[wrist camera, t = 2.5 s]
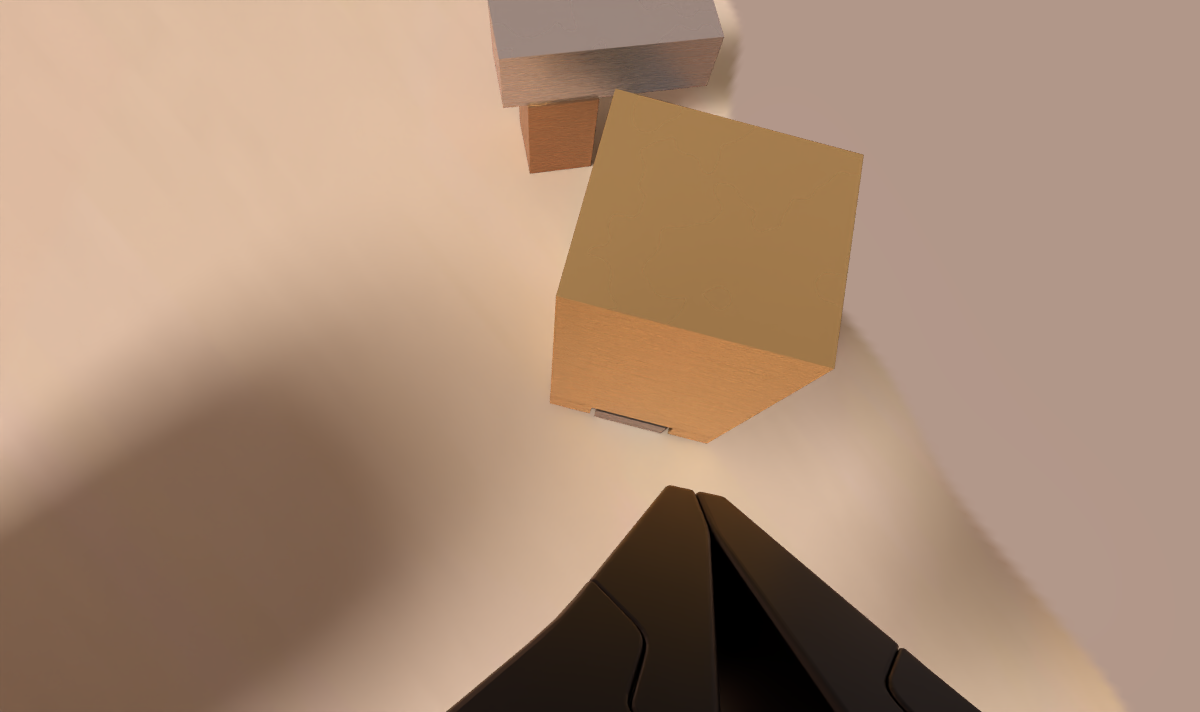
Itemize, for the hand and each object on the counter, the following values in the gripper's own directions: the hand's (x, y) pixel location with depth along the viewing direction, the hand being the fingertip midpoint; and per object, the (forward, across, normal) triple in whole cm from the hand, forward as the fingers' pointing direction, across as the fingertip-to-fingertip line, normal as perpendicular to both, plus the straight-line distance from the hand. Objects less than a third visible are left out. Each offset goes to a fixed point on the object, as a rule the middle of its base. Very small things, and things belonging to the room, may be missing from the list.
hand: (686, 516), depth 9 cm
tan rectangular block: (+14, 0, -4) cm, 14 cm away
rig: (+16, -3, -1) cm, 17 cm away
